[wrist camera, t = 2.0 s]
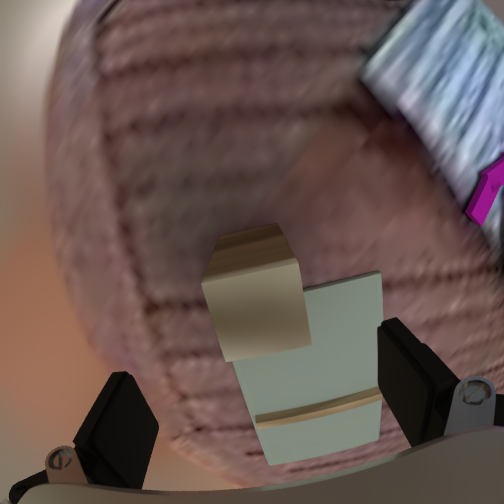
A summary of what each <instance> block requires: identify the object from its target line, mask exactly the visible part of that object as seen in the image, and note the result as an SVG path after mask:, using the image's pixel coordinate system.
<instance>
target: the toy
mask: <svg viewBox="0 0 504 504" xmlns="http://www.w3.org/2000/svg"><path fill="white" fill-rule="evenodd" d="M481 176H482V178H481V180H480V183H479V185H478V187H477V189H476V191H475V193H474V195H473V197H472V199H471V201H470V203H469V205H468V207H467V209H466V211H465V213H466V214H467V215H468V216H469V217H470V218H471V220H472V221H473V222H474V223H475V224H477V225H480V226H482V224H483V223H484V221H485V219H486V217H487V214H488V212H489V210H490V208H491V206H492V204H493V202H494V200H495V197H496V195H497V193H498V191H499V188H500V187H501V186H502V185H503V184H504V152H503V157H502V158H500V159H499V160H498V161H496V162H495V163H494V164H492V165H491V166H489V167H488V168H487V169H485V170H484V171H483V172H481Z"/></svg>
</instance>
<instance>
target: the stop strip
mask: <svg viewBox="0 0 504 504" xmlns="http://www.w3.org/2000/svg"><path fill="white" fill-rule="evenodd" d="M379 400H382V393H381V391H380V389H379V387H378V386H377V387H374V388H371V389H367V390H364V391H361V392H357V393H354V394H350V395H347V396H343V397H340V398H336V399H332V400H328V401H324V402H320V403H316V404H311V405H307V406H302V407H298V408H293V409H288V410H283V411H277V412H272V413H266V414H260V415H255V418H256V426H257V429H263V428H269V427H275V426H280V425H286V424H291V423H296V422H301V421H305V420H310V419H314V418H319V417H323V416H327V415H331V414H335V413H339V412H342V411H346V410H350V409H353V408H357V407H360V406H363V405H367V404H370V403H373V402H376V401H379Z"/></svg>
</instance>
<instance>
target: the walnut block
mask: <svg viewBox="0 0 504 504" xmlns="http://www.w3.org/2000/svg"><path fill="white" fill-rule="evenodd" d="M201 285H202V289H203V292H204V295H205V299H206V302H207V305H208V309H209V312H210V315H211V318H212V321H213V325H214V328H215V331H216V334H217V337H218V340H219V343H220V346H221V349H222V352H223V355H224V358H225V361H226V362H229V361H235V360H241V359H247V358H252V357H258V356H263V355H268V354H273V353H278V352H283V351H288V350H292V349H297V348H301V347H306V346H310V345H312V341H311V335H310V328H309V322H308V316H307V310H306V304H305V298H304V292H303V286H302V281H301V275H300V269H299V264H298V261H297V259H296V257H295V255H294V254H293V252H292V250H291V248H290V246H289V244H288V242H287V240H286V238H285V237H284V235H283V233H282V231H281V229H280V227H279V225H278V223H277V224H272V225H267V226H263V227H258V228H254V229H249V230H245V231H240V232H236V233H231V234H227V235H222V236H220V237H219V240H218V242H217V245H216V247H215V250H214V252H213V255H212V257H211V259H210V262H209V264H208V267H207V269H206V272H205V274H204V277H203V280H202V282H201Z"/></svg>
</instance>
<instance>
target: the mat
mask: <svg viewBox="0 0 504 504" xmlns="http://www.w3.org/2000/svg"><path fill="white" fill-rule="evenodd" d="M303 292H304V298H305V304H306V310H307V316H308V322H309V328H310V335H311V341H312V345H310V346H306V347H301V348H297V349H292V350H288V351H283V352H278V353H273V354H268V355H263V356H258V357H252V358H247V359H241V360H235V361H232V362H233V366H234V369H235V372H236V375H237V378H238V381H239V384H240V387H241V390H242V393H243V395H244V398H245V401H246V404H247V407H248V410H249V413H250V416H251V418H252V421H253V424H254V427H255V430H256V432H257V435H258V438H259V441H260V443H261V446H262V449H263V451H264V454H265V457H266V459H267V462H268V465H276V464H282V463H288V462H293V461H299V460H304V459H309V458H313V457H318V456H322V455H326V454H331V453H335V452H338V451H342V450H346V449H350V448H353V447H357V446H360V445H363V444H366V443H370V442H373V441H376V440H378V439H379V430H380V418H381V405H382V400H379V401H376V402H373V403H370V404H367V405H363V406H360V407H357V408H353V409H350V410H346V411H342V412H339V413H335V414H331V415H327V416H323V417H319V418H314V419H310V420H305V421H301V422H296V423H291V424H286V425H280V426H275V427H269V428H263V429H257V426H256V418H255V415H260V414H266V413H272V412H277V411H283V410H288V409H293V408H298V407H302V406H307V405H311V404H316V403H320V402H324V401H328V400H332V399H336V398H340V397H343V396H347V395H350V394H354V393H357V392H361V391H364V390H367V389H371V388H374V387H377V386H378V381H377V380H378V350H377V327H378V326H381V322H382V321H383V298H382V280H381V272H379V271H375V272H371V273H367V274H363V275H359V276H355V277H351V278H347V279H343V280H339V281H335V282H331V283H326V284H322V285H318V286H314V287H309V288H305V289H303Z"/></svg>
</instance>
